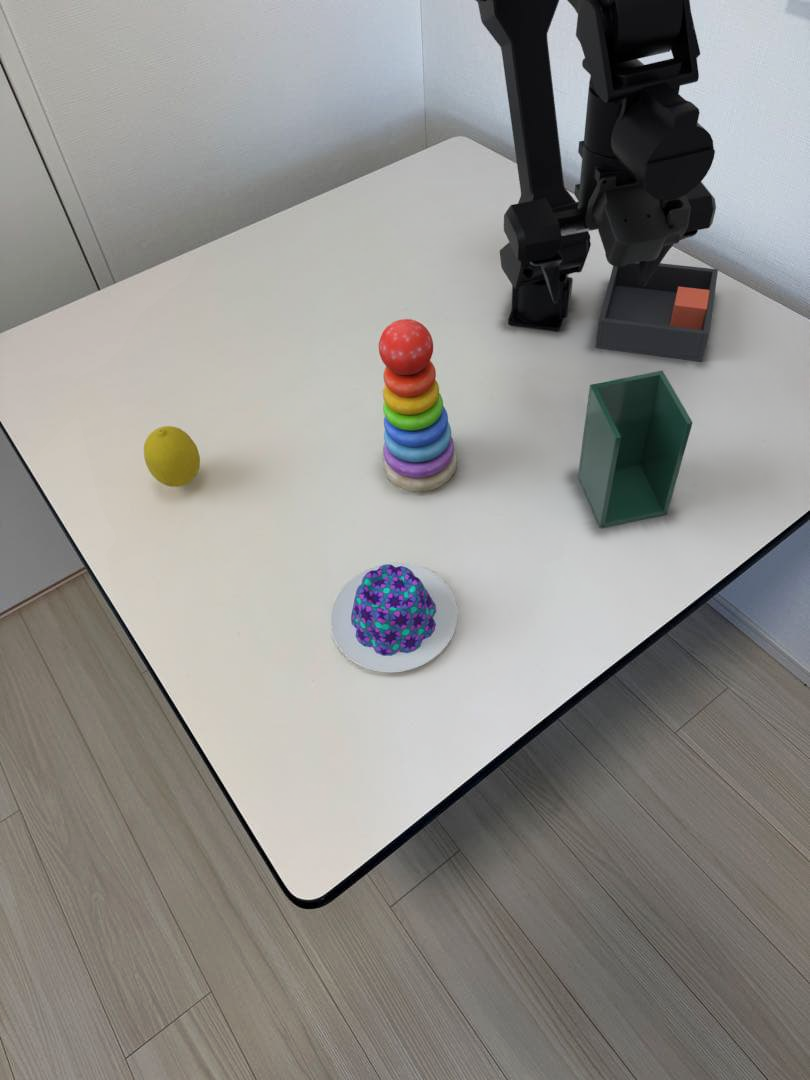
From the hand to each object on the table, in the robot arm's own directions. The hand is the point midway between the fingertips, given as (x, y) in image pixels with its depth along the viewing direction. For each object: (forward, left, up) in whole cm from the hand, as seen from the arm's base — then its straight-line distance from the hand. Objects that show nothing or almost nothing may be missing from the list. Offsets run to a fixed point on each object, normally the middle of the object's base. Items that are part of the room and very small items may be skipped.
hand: (598, 292), depth 83 cm
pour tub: (+6, -15, -13) cm, 21 cm away
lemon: (-40, -24, -13) cm, 48 cm away
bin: (+6, +13, -13) cm, 19 cm away
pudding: (-12, -35, -13) cm, 39 cm away
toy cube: (+10, +13, -12) cm, 20 cm away
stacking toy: (-15, -16, -13) cm, 26 cm away
